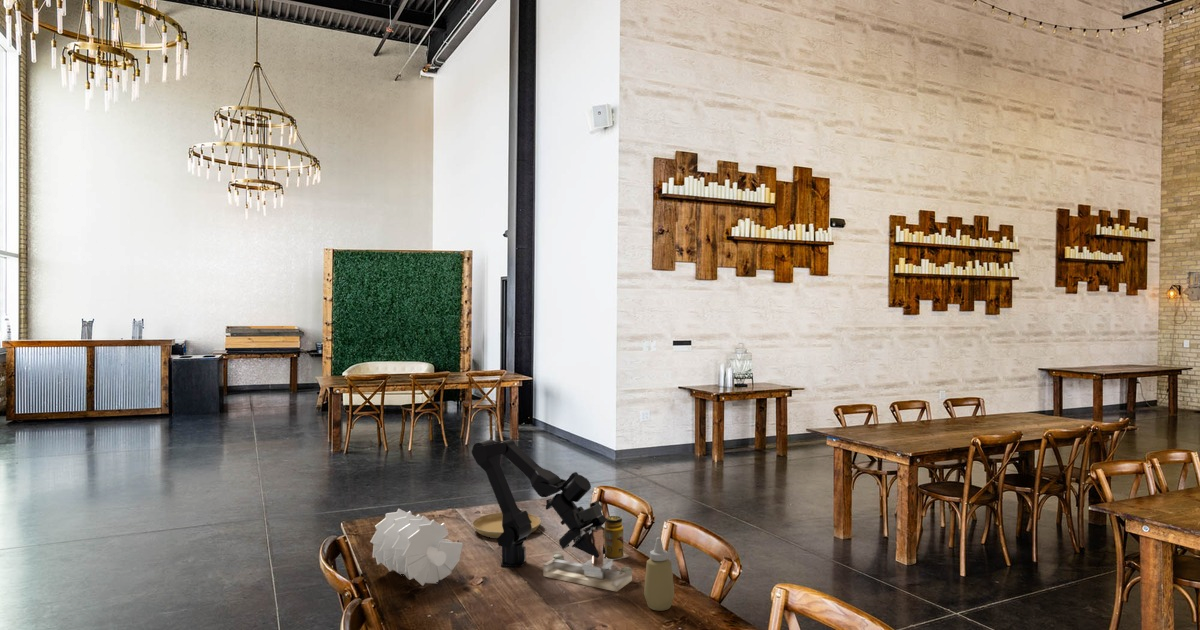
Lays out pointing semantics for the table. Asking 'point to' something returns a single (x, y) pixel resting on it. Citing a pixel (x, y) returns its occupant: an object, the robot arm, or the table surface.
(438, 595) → the table surface
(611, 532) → the condiment
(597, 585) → the rail
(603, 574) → the carriage
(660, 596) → the squeeze bottle
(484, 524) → the plant saucer
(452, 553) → the spiral staircase
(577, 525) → the robot arm
